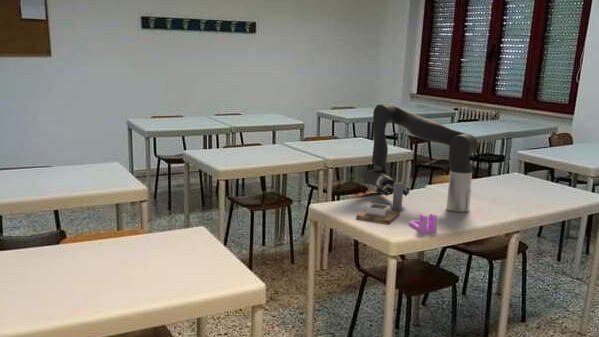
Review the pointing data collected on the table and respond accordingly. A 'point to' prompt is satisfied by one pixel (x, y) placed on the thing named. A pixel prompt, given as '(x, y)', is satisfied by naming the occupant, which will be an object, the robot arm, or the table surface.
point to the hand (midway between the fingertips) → (396, 193)
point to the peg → (397, 196)
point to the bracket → (425, 224)
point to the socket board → (378, 213)
